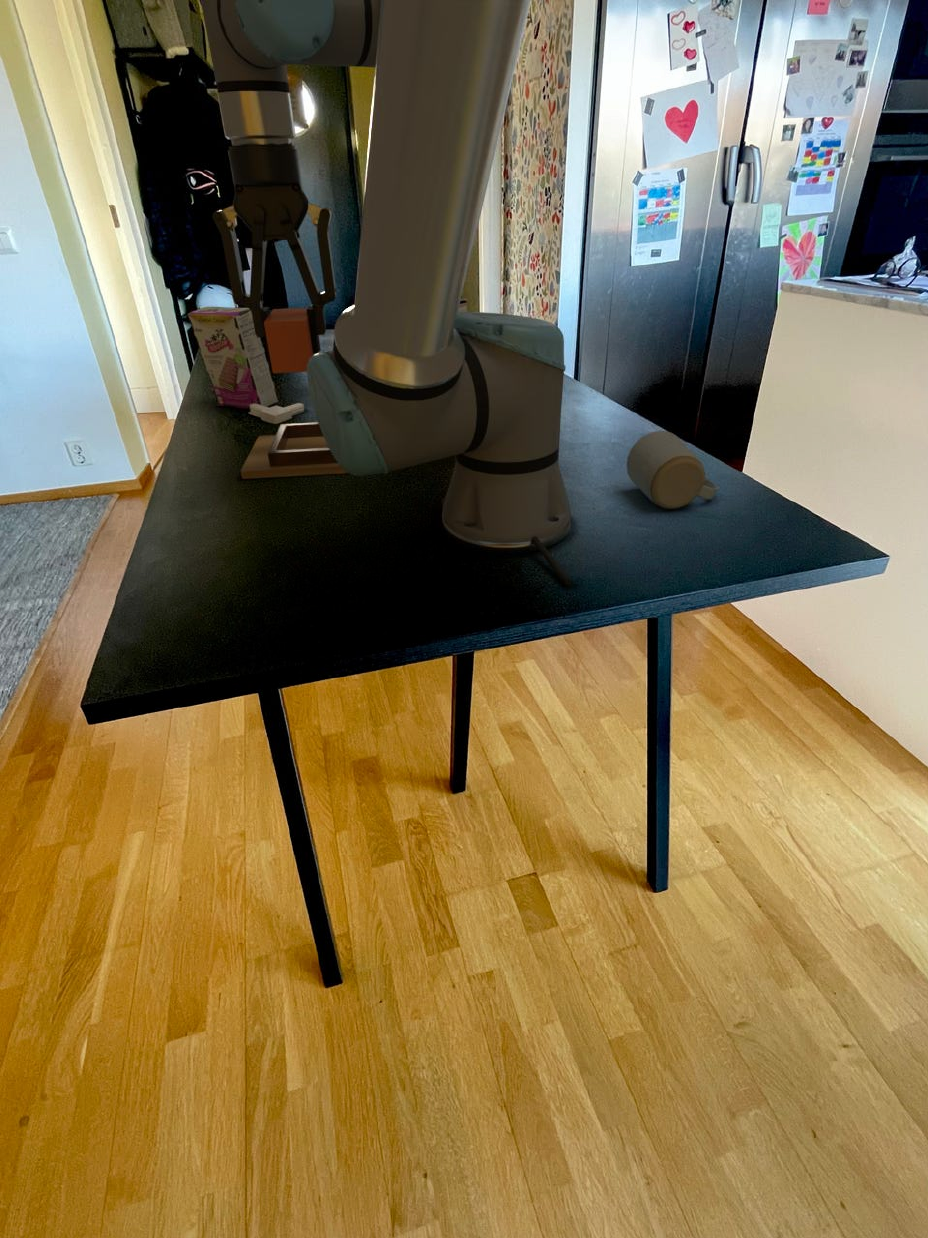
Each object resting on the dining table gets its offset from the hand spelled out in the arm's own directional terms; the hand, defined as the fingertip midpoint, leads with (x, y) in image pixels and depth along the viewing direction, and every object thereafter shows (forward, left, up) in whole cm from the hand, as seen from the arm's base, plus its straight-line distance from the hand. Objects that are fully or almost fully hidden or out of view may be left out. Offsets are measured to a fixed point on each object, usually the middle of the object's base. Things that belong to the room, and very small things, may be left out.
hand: (296, 361), depth 87 cm
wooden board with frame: (+7, +1, -15) cm, 17 cm away
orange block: (0, 0, 0) cm, 0 cm away
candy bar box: (+35, +16, -15) cm, 41 cm away
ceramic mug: (-15, -47, -15) cm, 52 cm away
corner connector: (+29, +10, -15) cm, 34 cm away
